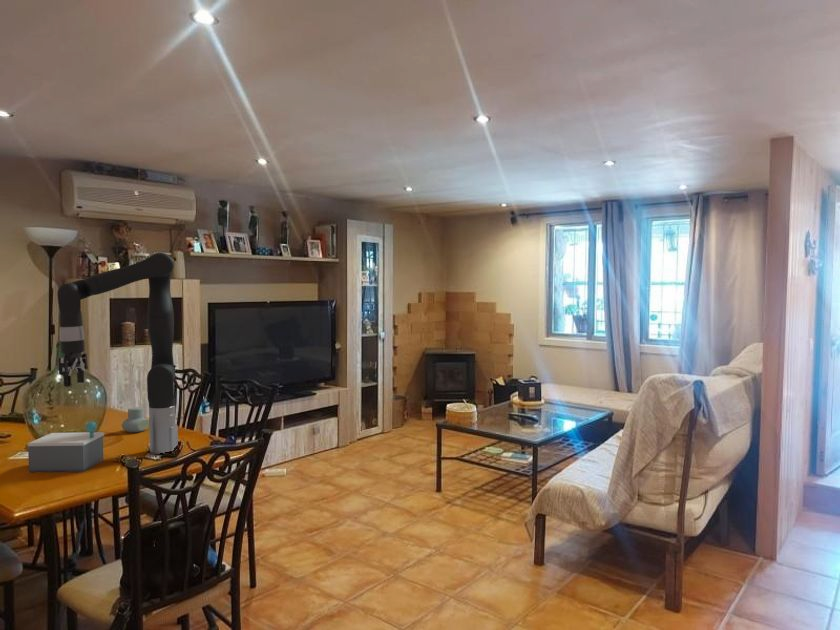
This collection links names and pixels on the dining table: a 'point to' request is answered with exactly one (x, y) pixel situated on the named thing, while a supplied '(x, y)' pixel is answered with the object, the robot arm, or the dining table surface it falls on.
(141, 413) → the air freshener
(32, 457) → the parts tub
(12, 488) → the dining table surface
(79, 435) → the tub lid
